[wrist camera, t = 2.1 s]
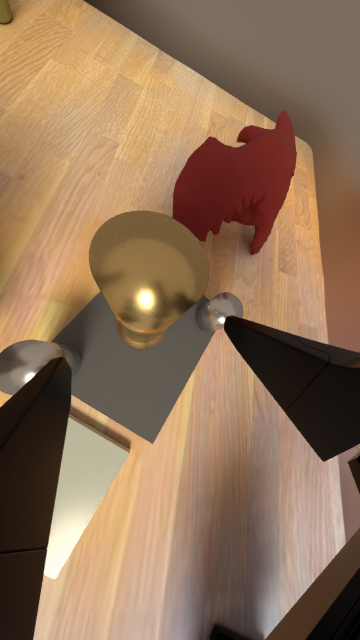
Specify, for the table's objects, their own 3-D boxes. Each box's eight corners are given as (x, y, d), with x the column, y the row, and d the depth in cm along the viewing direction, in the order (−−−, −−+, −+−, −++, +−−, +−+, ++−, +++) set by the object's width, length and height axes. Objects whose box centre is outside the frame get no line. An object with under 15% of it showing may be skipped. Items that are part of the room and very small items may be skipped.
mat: (224, 312, 22) (225, 312, 21) (152, 442, 16) (152, 443, 15) (141, 250, 20) (142, 249, 20) (28, 366, 14) (26, 367, 14)
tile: (129, 449, 15) (129, 453, 14) (58, 569, 12) (54, 579, 11) (50, 402, 14) (46, 404, 14) (-48, 518, 11) (-58, 527, 11)
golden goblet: (174, 320, 19) (241, 258, 7) (148, 358, 17) (176, 368, 5) (137, 294, 18) (139, 175, 6) (106, 330, 17) (21, 263, 4)
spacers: (225, 312, 21) (250, 301, 17) (152, 443, 15) (159, 482, 11) (143, 250, 20) (145, 219, 15) (29, 368, 14) (-25, 376, 9)
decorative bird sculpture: (259, 220, 35) (270, 117, 24) (307, 219, 29) (348, 83, 19) (176, 290, 25) (133, 167, 15) (223, 309, 19) (209, 129, 9)
